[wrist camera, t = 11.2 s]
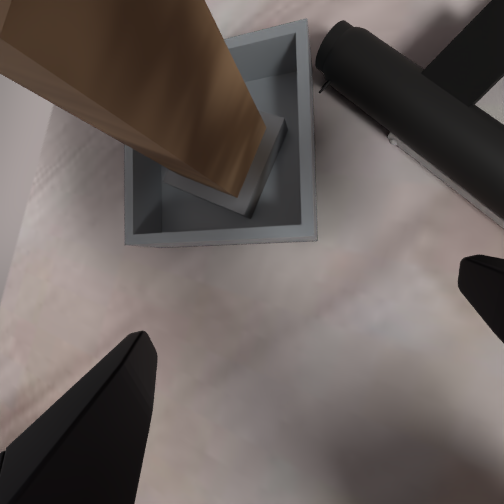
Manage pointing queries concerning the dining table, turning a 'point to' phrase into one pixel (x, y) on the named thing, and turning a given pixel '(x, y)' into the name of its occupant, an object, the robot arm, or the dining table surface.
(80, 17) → the wooden post on base
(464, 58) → the door handle
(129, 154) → the tray
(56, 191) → the dining table surface
